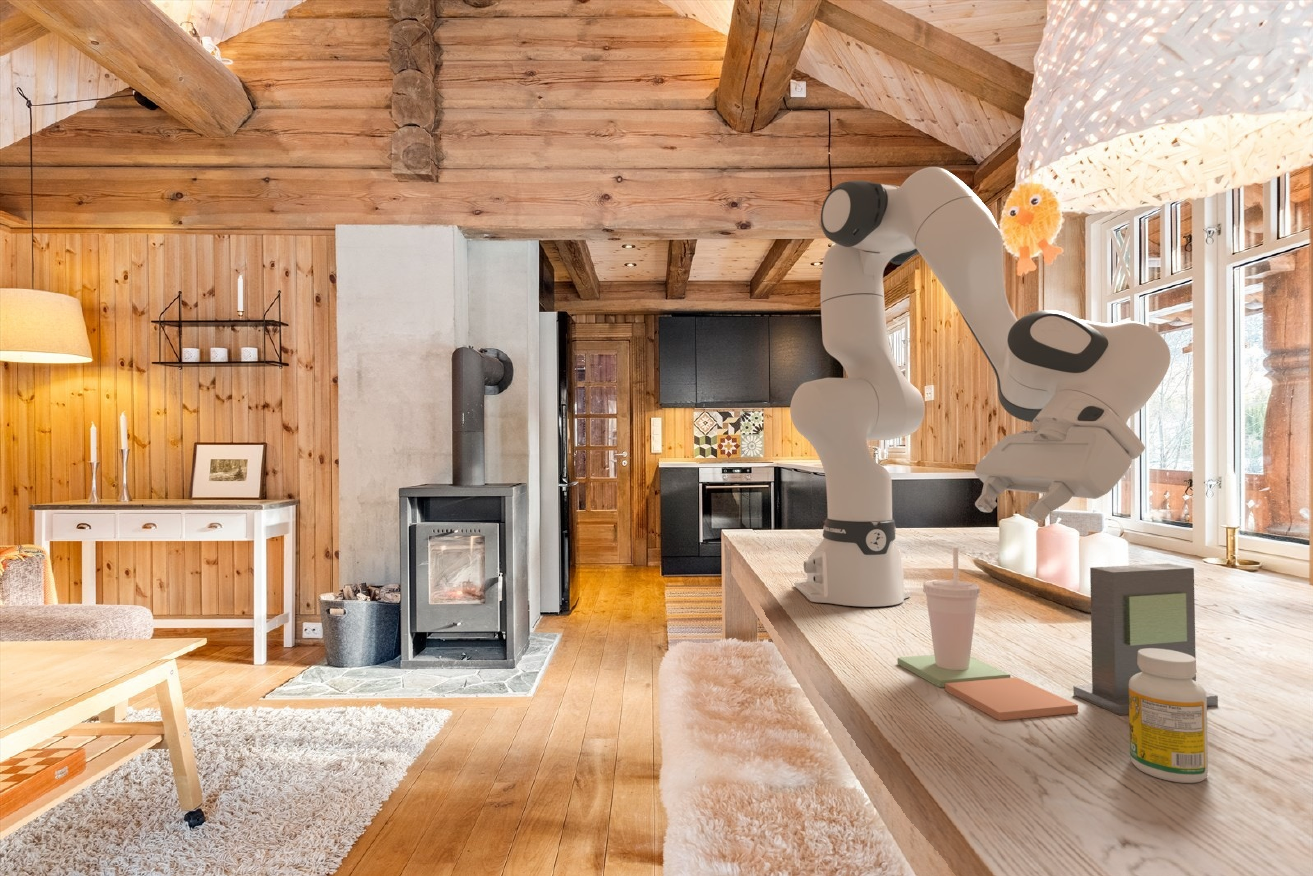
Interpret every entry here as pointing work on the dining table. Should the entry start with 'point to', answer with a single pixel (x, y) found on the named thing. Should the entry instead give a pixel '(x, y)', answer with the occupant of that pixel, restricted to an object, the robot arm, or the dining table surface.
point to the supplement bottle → (1168, 717)
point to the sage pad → (940, 676)
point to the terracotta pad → (1010, 698)
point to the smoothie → (952, 618)
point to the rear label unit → (1136, 626)
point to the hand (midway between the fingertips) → (1005, 512)
